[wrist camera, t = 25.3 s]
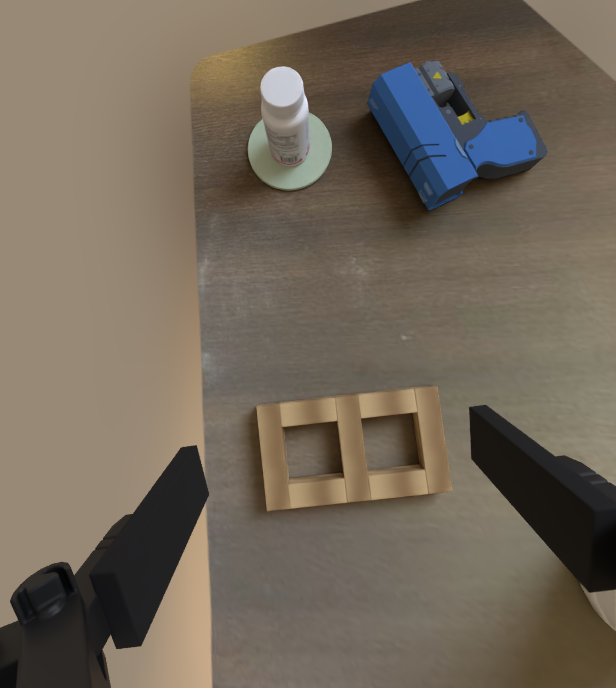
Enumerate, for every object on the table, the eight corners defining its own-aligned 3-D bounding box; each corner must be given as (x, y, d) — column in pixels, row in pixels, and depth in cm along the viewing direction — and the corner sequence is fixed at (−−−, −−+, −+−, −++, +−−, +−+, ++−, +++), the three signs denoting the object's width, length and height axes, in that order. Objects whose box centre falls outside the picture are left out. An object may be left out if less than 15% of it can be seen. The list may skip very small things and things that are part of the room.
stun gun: (488, 26, 35) (371, 76, 33) (562, 144, 34) (444, 202, 32) (467, 64, 39) (362, 110, 38) (532, 170, 38) (426, 222, 36)
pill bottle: (287, 121, 38) (279, 51, 29) (318, 145, 37) (318, 82, 29) (261, 151, 38) (245, 89, 29) (292, 175, 37) (284, 120, 29)
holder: (269, 503, 35) (266, 511, 33) (259, 404, 36) (256, 406, 34) (444, 484, 35) (452, 491, 33) (430, 384, 36) (437, 386, 34)
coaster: (252, 195, 38) (252, 193, 37) (244, 116, 38) (243, 113, 38) (336, 185, 37) (336, 183, 37) (326, 105, 38) (326, 103, 38)
